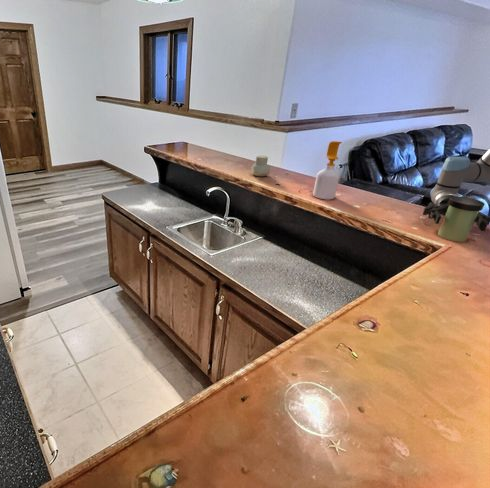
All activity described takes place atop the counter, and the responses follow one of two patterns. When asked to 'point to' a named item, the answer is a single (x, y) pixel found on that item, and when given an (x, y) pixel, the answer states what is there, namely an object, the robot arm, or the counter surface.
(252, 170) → the air freshener
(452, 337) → the counter surface
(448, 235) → the jar
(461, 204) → the lid
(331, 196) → the soap bottle
